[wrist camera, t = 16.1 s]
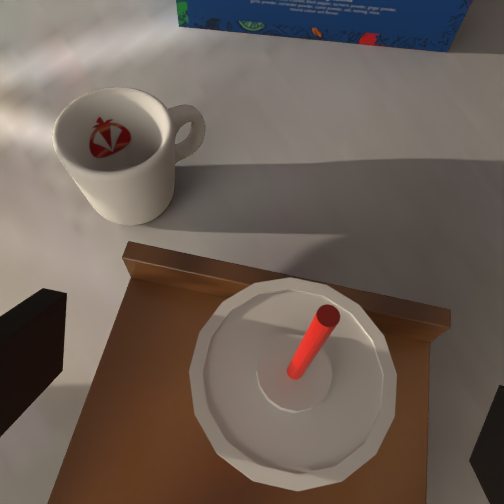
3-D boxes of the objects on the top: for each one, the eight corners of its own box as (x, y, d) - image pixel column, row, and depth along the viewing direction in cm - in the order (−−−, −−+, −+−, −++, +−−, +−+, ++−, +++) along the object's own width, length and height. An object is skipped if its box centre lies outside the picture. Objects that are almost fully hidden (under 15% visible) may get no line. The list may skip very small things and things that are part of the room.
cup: (181, 131, 41) (171, 55, 33) (231, 192, 38) (232, 124, 31) (68, 185, 37) (31, 114, 30) (113, 256, 34) (84, 197, 27)
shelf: (91, 523, 27) (9, 545, 16) (158, 316, 32) (127, 240, 22) (362, 589, 26) (449, 656, 16) (379, 365, 32) (451, 308, 22)
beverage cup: (179, 453, 20) (106, 401, 8) (235, 331, 23) (245, 150, 11) (308, 513, 19) (452, 564, 7) (349, 380, 22) (507, 245, 10)
